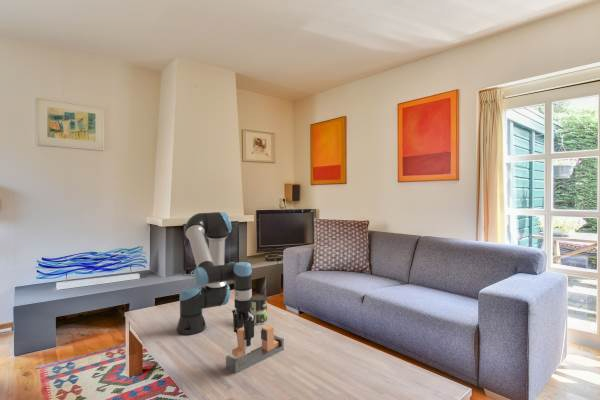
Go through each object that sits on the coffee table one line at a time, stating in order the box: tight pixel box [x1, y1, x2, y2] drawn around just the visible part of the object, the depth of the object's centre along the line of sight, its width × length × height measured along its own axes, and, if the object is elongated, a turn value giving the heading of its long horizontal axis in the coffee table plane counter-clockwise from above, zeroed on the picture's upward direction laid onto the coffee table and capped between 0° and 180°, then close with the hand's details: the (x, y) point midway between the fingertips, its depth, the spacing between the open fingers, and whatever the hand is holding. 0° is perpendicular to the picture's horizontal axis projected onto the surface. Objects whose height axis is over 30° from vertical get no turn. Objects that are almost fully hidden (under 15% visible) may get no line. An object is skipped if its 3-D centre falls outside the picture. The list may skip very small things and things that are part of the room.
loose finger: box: [231, 326, 252, 358], centre depth 145 cm, size 4×8×10 cm, turn 137°
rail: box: [225, 334, 285, 374], centre depth 151 cm, size 7×28×5 cm, turn 137°
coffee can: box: [250, 294, 268, 326], centre depth 194 cm, size 10×10×14 cm
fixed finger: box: [260, 324, 279, 351], centre depth 157 cm, size 4×8×10 cm, turn 137°
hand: (243, 350), depth 146 cm, fingers closed on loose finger, 4 cm apart
